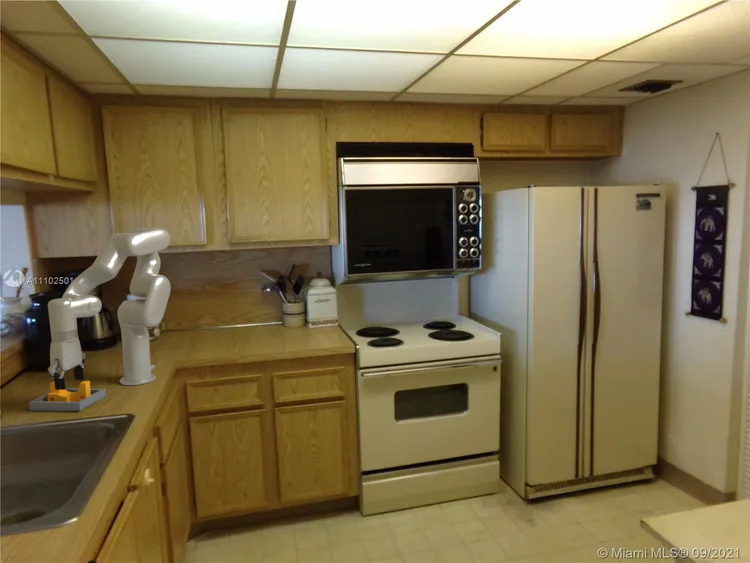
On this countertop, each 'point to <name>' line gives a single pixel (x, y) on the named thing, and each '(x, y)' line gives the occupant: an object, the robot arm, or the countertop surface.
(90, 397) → the parts tray
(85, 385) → the pipe clamp
